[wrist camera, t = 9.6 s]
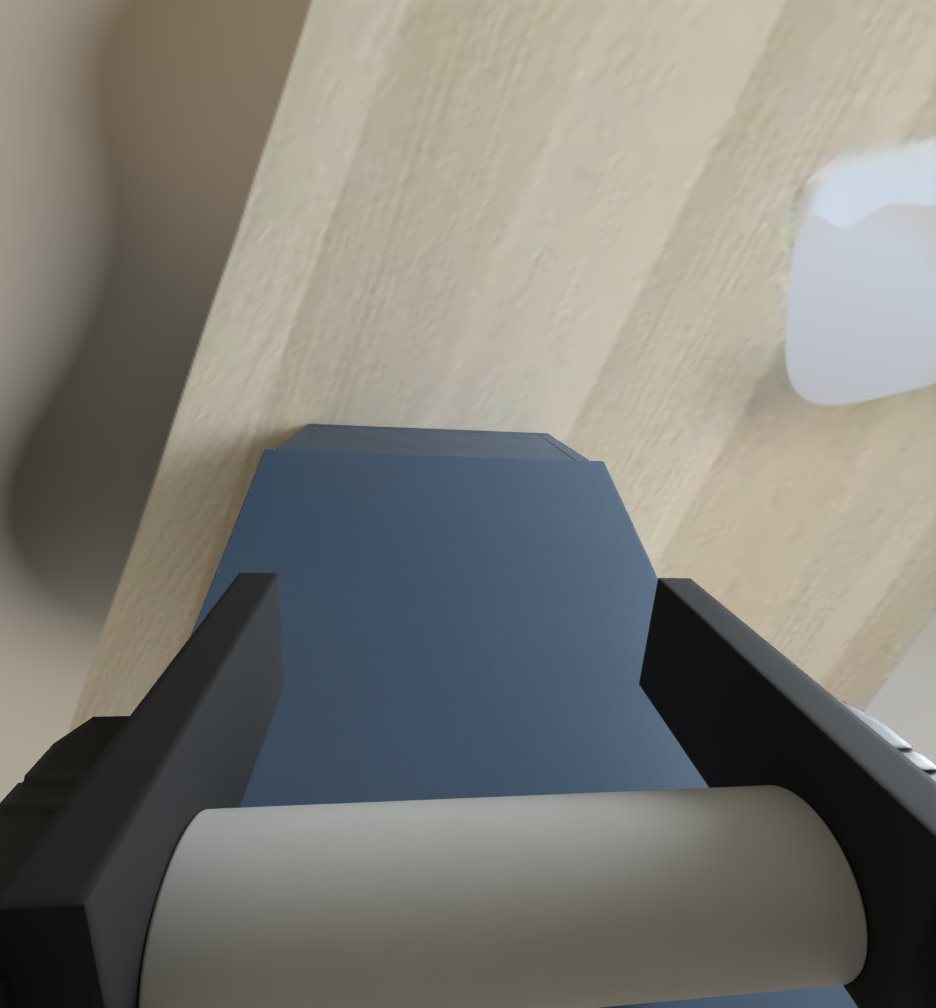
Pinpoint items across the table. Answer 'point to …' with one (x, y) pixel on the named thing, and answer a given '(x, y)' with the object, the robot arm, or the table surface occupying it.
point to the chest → (429, 442)
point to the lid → (482, 773)
